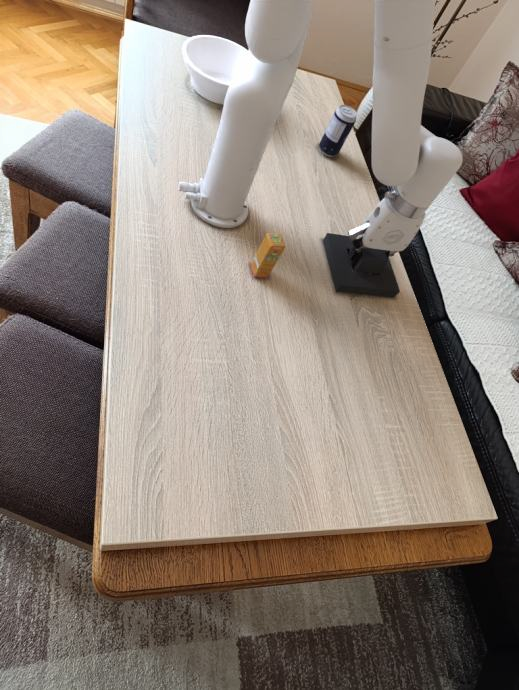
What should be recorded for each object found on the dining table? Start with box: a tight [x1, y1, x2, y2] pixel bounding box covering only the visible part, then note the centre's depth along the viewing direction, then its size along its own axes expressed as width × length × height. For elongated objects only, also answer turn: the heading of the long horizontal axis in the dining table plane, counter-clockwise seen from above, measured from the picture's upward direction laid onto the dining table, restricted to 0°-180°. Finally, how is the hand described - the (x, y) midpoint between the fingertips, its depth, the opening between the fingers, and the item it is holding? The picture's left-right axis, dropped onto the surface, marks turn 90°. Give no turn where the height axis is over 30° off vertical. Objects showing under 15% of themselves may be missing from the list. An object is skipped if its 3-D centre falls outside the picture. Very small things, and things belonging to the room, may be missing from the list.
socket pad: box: [322, 232, 401, 299], centre depth 112 cm, size 15×15×2 cm
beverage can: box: [318, 104, 358, 158], centre depth 128 cm, size 6×6×12 cm
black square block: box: [349, 242, 388, 275], centre depth 109 cm, size 6×6×4 cm
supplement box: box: [250, 232, 286, 278], centre depth 99 cm, size 3×3×10 cm
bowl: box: [181, 34, 249, 106], centre depth 128 cm, size 21×21×8 cm
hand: (364, 261), depth 110 cm, fingers closed on black square block, 5 cm apart
